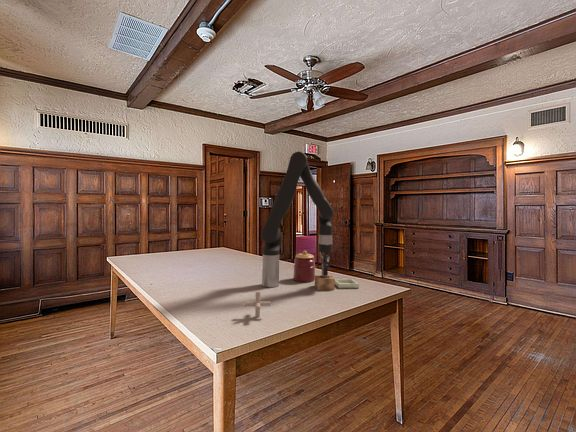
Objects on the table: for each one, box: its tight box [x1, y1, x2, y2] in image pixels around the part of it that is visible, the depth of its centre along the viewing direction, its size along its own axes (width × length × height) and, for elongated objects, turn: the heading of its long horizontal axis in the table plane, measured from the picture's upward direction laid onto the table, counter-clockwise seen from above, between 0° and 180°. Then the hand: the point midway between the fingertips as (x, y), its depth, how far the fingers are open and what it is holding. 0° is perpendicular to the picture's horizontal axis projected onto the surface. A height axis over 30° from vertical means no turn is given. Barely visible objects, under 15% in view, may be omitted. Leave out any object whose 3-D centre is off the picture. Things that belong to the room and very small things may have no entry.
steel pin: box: [321, 262, 329, 278], centre depth 165 cm, size 3×3×15 cm
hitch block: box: [314, 274, 336, 291], centre depth 165 cm, size 9×9×6 cm
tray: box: [335, 278, 360, 290], centre depth 170 cm, size 11×11×2 cm
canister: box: [293, 250, 316, 283], centre depth 182 cm, size 13×13×18 cm
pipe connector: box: [244, 290, 272, 318], centre depth 120 cm, size 10×10×10 cm
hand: (324, 274), depth 165 cm, fingers closed on steel pin, 3 cm apart
